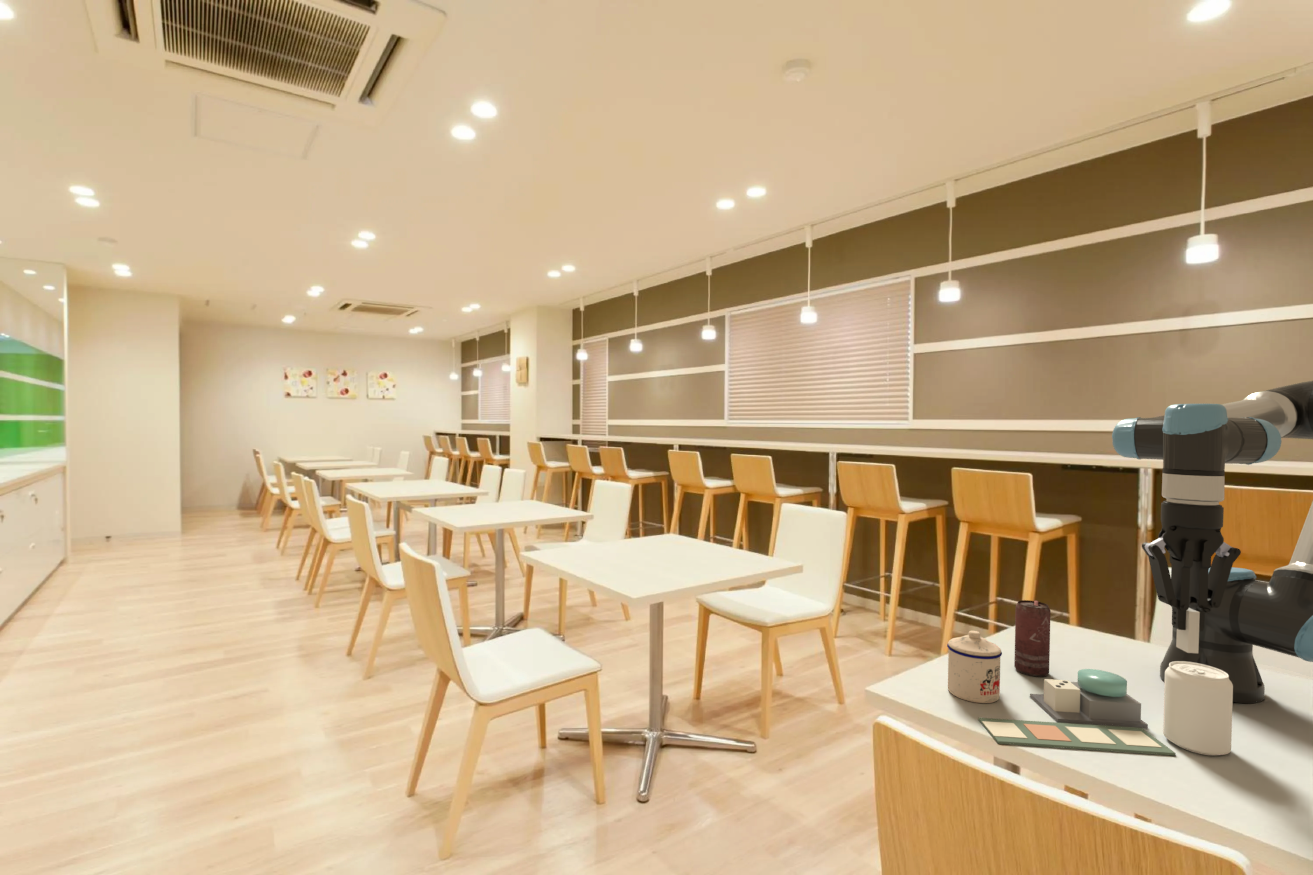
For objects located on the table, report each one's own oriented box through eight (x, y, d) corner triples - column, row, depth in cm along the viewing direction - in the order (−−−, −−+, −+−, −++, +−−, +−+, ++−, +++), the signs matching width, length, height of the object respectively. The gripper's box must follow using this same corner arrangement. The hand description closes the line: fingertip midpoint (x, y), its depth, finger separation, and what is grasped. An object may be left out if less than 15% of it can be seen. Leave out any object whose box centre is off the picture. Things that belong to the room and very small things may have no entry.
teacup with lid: (989, 709, 111) (990, 643, 110) (937, 692, 117) (939, 630, 117) (1014, 690, 119) (1015, 629, 118) (964, 675, 125) (965, 617, 125)
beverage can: (1216, 763, 93) (1218, 683, 93) (1152, 739, 101) (1154, 664, 100) (1240, 751, 97) (1243, 674, 97) (1178, 728, 104) (1180, 656, 104)
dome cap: (1111, 697, 113) (1111, 670, 113) (1135, 715, 106) (1136, 686, 106) (1069, 695, 114) (1069, 667, 114) (1090, 712, 107) (1091, 683, 107)
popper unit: (1111, 701, 114) (1112, 675, 114) (1147, 727, 104) (1148, 699, 104) (1029, 696, 116) (1030, 671, 116) (1057, 722, 106) (1058, 694, 106)
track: (1141, 730, 103) (1141, 727, 103) (1175, 755, 96) (1175, 752, 96) (978, 719, 107) (978, 716, 107) (997, 743, 99) (998, 740, 99)
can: (1049, 669, 129) (1050, 601, 129) (1048, 679, 124) (1050, 609, 124) (1015, 663, 132) (1016, 597, 132) (1013, 673, 127) (1015, 604, 127)
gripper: (1220, 500, 102) (1215, 644, 102) (1132, 497, 104) (1127, 639, 104) (1257, 505, 94) (1252, 661, 95) (1161, 502, 96) (1156, 655, 97)
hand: (1187, 649), depth 100 cm, fingers closed
